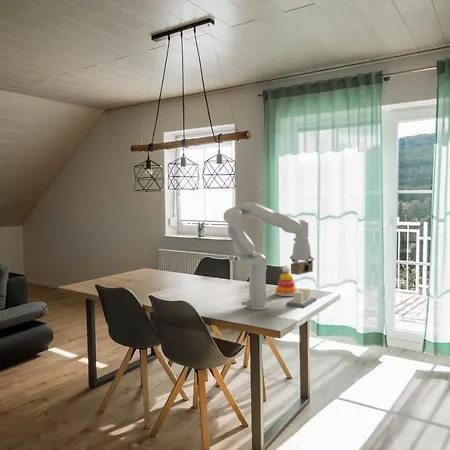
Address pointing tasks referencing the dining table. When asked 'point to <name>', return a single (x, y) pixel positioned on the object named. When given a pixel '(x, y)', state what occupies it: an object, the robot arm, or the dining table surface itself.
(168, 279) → the dining table surface
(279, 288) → the stacking toy
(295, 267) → the walnut beam
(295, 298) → the plate
